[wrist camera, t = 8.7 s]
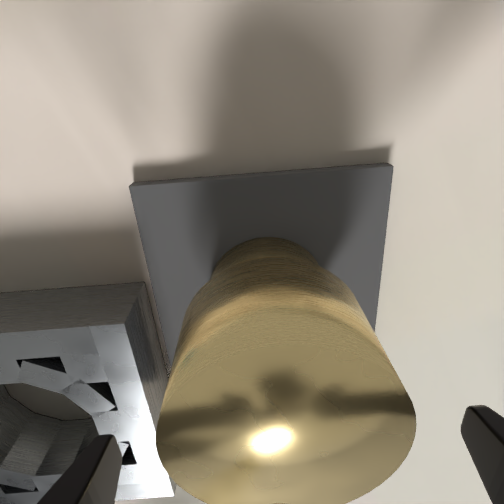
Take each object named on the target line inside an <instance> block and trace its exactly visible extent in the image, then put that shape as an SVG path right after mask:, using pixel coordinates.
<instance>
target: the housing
mask: <svg viewBox="0 0 504 504" xmlns="http://www.w3.org/2000/svg"><path fill="white" fill-rule="evenodd" d="M13 383H25V384H28V385H32V386H35V387H39V388H42V389H46V390H50V391H53V392H57V393H60V394H63V395H65V396H66V397H67V398H69V399H70V400H71V401H73V402H74V403H75V404H77V405H78V406H79V407H81V408H82V409H83V410H85V411H86V412H87V413H89V414H90V415H91V416H92V418H93V419H82V420H70V421H62V420H58V419H54V418H51V417H47V416H43V415H39V414H36V413H33V412H32V411H30V410H29V409H27V408H26V407H24V406H23V405H22V404H20V403H19V402H17V401H16V400H14V399H13V398H11V397H10V396H9V394H8V392H7V390H6V389H5V387H4V385H3V384H13ZM167 383H168V377H167V373H166V369H165V365H164V361H163V356H162V352H161V348H160V344H159V340H158V336H157V332H156V328H155V323H154V319H153V315H152V311H151V307H150V303H149V299H148V294H147V290H146V286H145V282H138V283H125V284H112V285H99V286H86V287H73V288H61V289H48V290H35V291H22V292H9V293H0V504H37V503H38V502H39V500H40V499H41V498H42V497H43V496H44V495H45V494H46V492H47V491H48V490H49V489H50V488H51V487H52V486H53V484H54V483H55V482H56V481H57V480H58V479H59V478H60V477H61V475H62V474H63V473H64V472H65V471H66V470H67V469H68V467H69V466H70V465H71V464H72V463H73V462H74V461H75V459H76V458H77V457H78V456H79V455H80V454H81V453H82V451H83V450H84V449H85V448H86V447H87V446H88V445H89V443H90V442H91V441H92V440H93V439H94V438H95V437H96V436H98V435H104V434H113V435H114V436H115V437H116V440H117V442H118V445H119V448H120V451H121V453H122V465H121V471H120V476H119V481H118V487H117V492H116V498H115V501H121V500H133V499H146V498H158V497H171V496H174V495H175V489H176V483H175V482H174V480H173V479H172V478H171V477H170V476H169V475H168V473H167V472H166V470H165V469H164V467H163V466H162V464H161V461H160V459H159V456H158V453H157V448H156V428H157V423H158V419H159V415H160V411H161V407H162V403H163V399H164V395H165V391H166V387H167Z"/></svg>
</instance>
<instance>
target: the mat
mask: <svg viewBox="0 0 504 504" xmlns="http://www.w3.org/2000/svg"><path fill="white" fill-rule="evenodd" d="M392 175H393V166H392V165H390V164H388V163H380V164H367V165H354V166H341V167H328V168H315V169H302V170H289V171H276V172H263V173H250V174H237V175H224V176H211V177H198V178H185V179H172V180H159V181H146V182H133V183H132V184H131V185H130V186H129V189H130V194H131V198H132V202H133V206H134V211H135V215H136V219H137V224H138V228H139V232H140V237H141V241H142V245H143V250H144V254H145V258H146V262H147V267H148V271H149V275H150V280H151V284H152V288H153V293H154V297H155V301H156V306H157V310H158V314H159V318H160V323H161V327H162V331H163V336H164V340H165V344H166V349H167V353H168V357H169V362H170V366H171V367H172V363H173V359H174V355H175V351H176V347H177V343H178V339H179V335H180V331H181V327H182V323H183V319H184V315H185V313H186V310H187V308H188V305H189V304H190V302H191V300H192V299H193V297H194V296H195V295H196V293H197V292H198V291H199V290H200V288H201V287H202V286H204V285H205V284H206V283H207V282H208V281H209V280H210V279H211V275H212V272H213V270H214V268H215V266H216V264H217V263H218V261H219V260H220V259H221V257H222V256H223V255H224V254H225V253H226V252H227V251H229V250H230V249H232V248H233V247H235V246H236V245H238V244H240V243H242V242H245V241H247V240H251V239H255V238H261V237H275V238H282V239H286V240H289V241H292V242H294V243H296V244H298V245H300V246H302V247H303V248H304V249H306V250H307V251H308V252H309V253H310V254H311V255H312V256H313V257H314V258H315V260H316V261H317V263H318V265H319V266H320V267H322V268H324V269H326V270H328V271H330V272H331V273H333V274H334V275H336V276H337V277H338V278H340V279H341V280H342V281H343V282H344V283H345V284H346V285H347V286H348V288H349V289H350V290H351V291H352V293H353V294H354V296H355V298H356V300H357V301H358V303H359V305H360V307H361V309H362V311H363V313H364V314H365V316H366V318H367V320H368V322H369V324H370V325H371V327H372V329H373V331H374V333H375V324H376V315H377V306H378V297H379V289H380V280H381V271H382V262H383V254H384V245H385V236H386V227H387V219H388V210H389V201H390V192H391V183H392Z"/></svg>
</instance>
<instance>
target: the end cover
mask: <svg viewBox="0 0 504 504" xmlns="http://www.w3.org/2000/svg"><path fill="white" fill-rule="evenodd" d="M415 432H416V414H415V410H414V407H413V404H412V401H411V399H410V397H409V395H408V394H407V392H406V390H405V388H404V386H403V384H402V383H401V381H400V379H399V377H398V375H397V373H396V371H395V370H394V368H393V366H392V364H391V362H390V360H389V359H388V357H387V355H386V353H385V351H384V349H383V348H382V346H381V344H380V342H379V340H378V338H377V336H376V335H375V333H374V331H373V329H372V327H371V325H370V324H369V322H368V320H367V318H366V316H365V314H364V313H363V311H362V309H361V307H360V305H359V303H358V301H357V300H356V298H355V296H354V294H353V293H352V291H351V290H350V289H349V288H348V286H347V285H346V284H345V283H344V282H343V281H342V280H341V279H340V278H338V277H337V276H336V275H334V274H333V273H331V272H330V271H328V270H326V269H324V268H322V267H320V266H319V265H318V263H317V261H316V260H315V258H314V257H313V256H312V255H311V254H310V253H309V252H308V251H307V250H306V249H304V248H303V247H302V246H300V245H298V244H296V243H294V242H292V241H289V240H286V239H282V238H275V237H261V238H255V239H251V240H247V241H245V242H242V243H240V244H238V245H236V246H235V247H233V248H232V249H230V250H229V251H227V252H226V253H225V254H224V255H223V256H222V257H221V259H220V260H219V261H218V263H217V264H216V266H215V268H214V270H213V272H212V275H211V279H210V280H209V281H208V282H207V283H206V284H205V285H204V286H202V287H201V288H200V290H199V291H198V292H197V293H196V295H195V296H194V297H193V299H192V300H191V302H190V304H189V305H188V308H187V310H186V313H185V315H184V319H183V323H182V327H181V331H180V335H179V339H178V343H177V347H176V351H175V355H174V359H173V363H172V367H171V371H170V375H169V379H168V383H167V387H166V391H165V395H164V399H163V403H162V407H161V411H160V415H159V419H158V423H157V428H156V448H157V453H158V456H159V459H160V461H161V464H162V466H163V467H164V469H165V470H166V472H167V473H168V475H169V476H170V477H171V478H172V479H173V480H174V482H175V483H176V484H178V485H179V486H180V487H181V488H182V489H184V490H185V491H186V492H188V493H189V494H191V495H192V496H194V497H195V498H197V499H199V500H201V501H203V502H205V503H207V504H345V503H348V502H350V501H352V500H355V499H357V498H359V497H361V496H363V495H364V494H366V493H368V492H370V491H371V490H373V489H374V488H376V487H377V486H379V485H380V484H382V483H383V482H384V481H385V480H386V479H388V478H389V477H390V476H391V475H392V474H393V473H394V472H395V471H396V470H397V469H398V468H399V466H400V465H401V464H402V462H403V461H404V460H405V458H406V457H407V455H408V453H409V451H410V449H411V447H412V444H413V441H414V438H415Z"/></svg>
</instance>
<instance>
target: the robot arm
mask: <svg viewBox="0 0 504 504" xmlns="http://www.w3.org/2000/svg"><path fill="white" fill-rule="evenodd" d="M461 434H462V437H463V439H464V442H465V444H466V446H467V448H468V451H469V453H470V455H471V457H472V460H473V462H474V464H475V466H476V468H477V471H478V473H479V475H480V477H481V480H482V482H483V484H484V486H485V488H486V491H487V493H488V495H489V497H490V499H491V501H492V503H493V504H504V418H503V417H502V416H501V415H499V414H498V413H496V412H495V411H493V410H492V409H490V408H489V407H487V406H484V405H475V406H469V407H467V408H466V411H465V414H464V418H463V421H462V424H461ZM121 465H122V453H121V451H120V448H119V445H118V442H117V440H116V437H115V436H114V435H113V434H104V435H98V436H96V437H95V438H94V439H93V440H92V441H91V442H90V443H89V445H88V446H87V447H86V448H85V449H84V450H83V451H82V453H81V454H80V455H79V456H78V457H77V458H76V459H75V461H74V462H73V463H72V464H71V465H70V466H69V467H68V469H67V470H66V471H65V472H64V473H63V474H62V475H61V477H60V478H59V479H58V480H57V481H56V482H55V483H54V484H53V486H52V487H51V488H50V489H49V490H48V491H47V492H46V494H45V495H44V496H43V497H42V498H41V499H40V500H39V502H38V503H37V504H114V503H115V498H116V492H117V487H118V481H119V476H120V471H121Z"/></svg>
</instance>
